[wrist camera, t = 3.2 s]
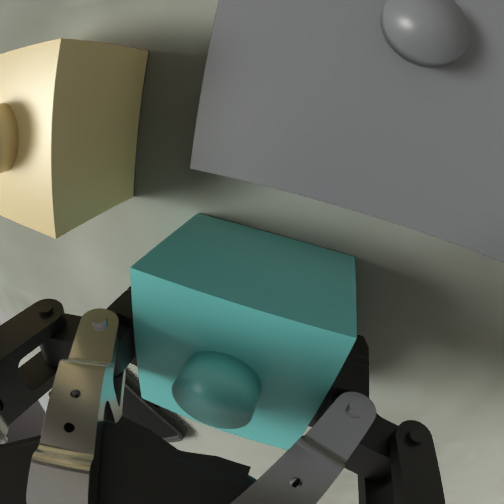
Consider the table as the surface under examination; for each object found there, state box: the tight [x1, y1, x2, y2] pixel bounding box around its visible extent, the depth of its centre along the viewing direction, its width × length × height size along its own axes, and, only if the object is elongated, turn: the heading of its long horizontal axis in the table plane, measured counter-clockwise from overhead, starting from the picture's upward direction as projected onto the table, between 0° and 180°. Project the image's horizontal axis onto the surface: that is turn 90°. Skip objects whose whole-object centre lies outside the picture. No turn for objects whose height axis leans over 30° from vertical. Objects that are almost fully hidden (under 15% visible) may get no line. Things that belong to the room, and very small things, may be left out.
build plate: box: [190, 0, 504, 262], centre depth 6 cm, size 12×12×2 cm
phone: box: [49, 370, 187, 442], centre depth 22 cm, size 8×1×15 cm
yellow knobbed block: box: [0, 38, 149, 239], centre depth 9 cm, size 6×6×6 cm
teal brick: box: [130, 213, 357, 450], centre depth 10 cm, size 6×6×6 cm
